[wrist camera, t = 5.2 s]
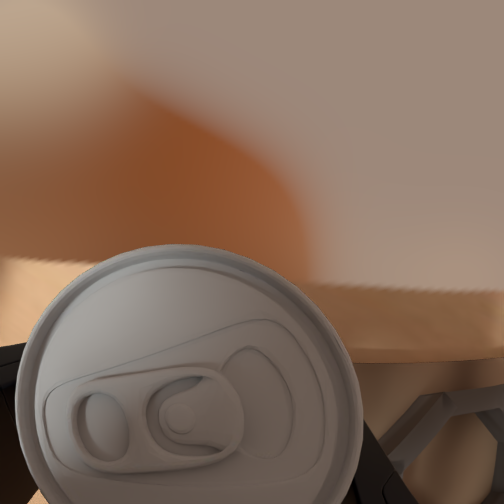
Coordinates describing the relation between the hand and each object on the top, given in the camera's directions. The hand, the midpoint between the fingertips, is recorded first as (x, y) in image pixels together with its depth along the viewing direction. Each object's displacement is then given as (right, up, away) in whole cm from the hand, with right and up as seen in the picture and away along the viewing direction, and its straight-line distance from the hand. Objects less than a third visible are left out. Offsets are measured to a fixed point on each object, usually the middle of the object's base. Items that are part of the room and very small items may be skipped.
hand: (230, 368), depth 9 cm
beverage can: (0, -4, +6) cm, 7 cm away
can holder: (+11, -9, +4) cm, 15 cm away
